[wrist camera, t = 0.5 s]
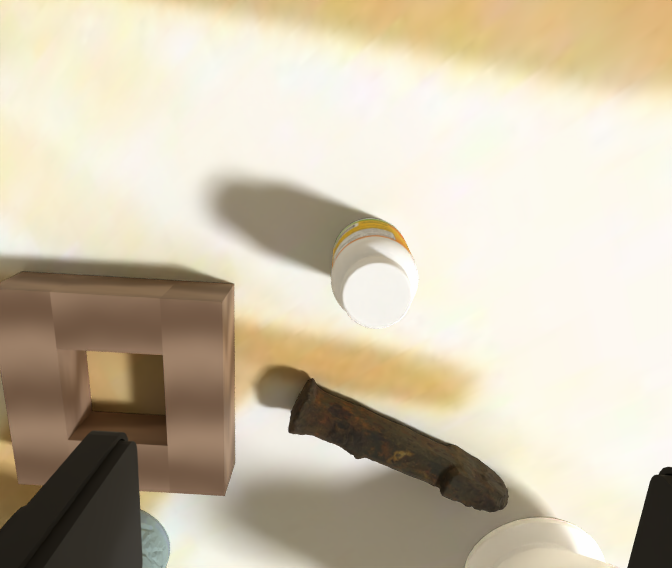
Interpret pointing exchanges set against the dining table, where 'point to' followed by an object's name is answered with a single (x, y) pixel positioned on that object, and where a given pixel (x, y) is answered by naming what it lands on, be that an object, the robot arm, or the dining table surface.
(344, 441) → the hand tool
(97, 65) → the dining table surface
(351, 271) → the supplement bottle
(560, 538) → the decorative vase
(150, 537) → the blue grey cup
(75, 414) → the collar block
